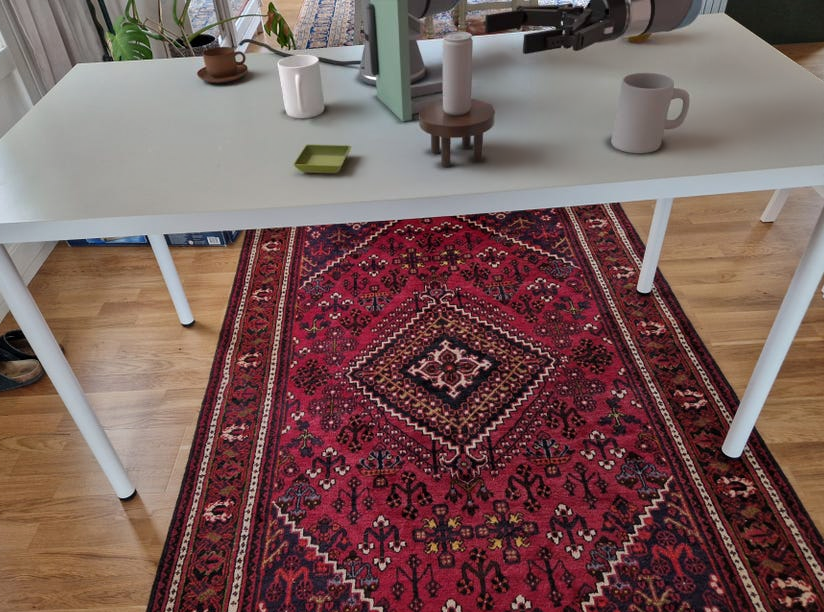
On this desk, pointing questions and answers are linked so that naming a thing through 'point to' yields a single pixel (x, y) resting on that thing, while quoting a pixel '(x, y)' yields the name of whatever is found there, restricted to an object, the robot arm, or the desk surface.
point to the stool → (456, 127)
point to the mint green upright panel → (395, 56)
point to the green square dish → (322, 158)
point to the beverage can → (457, 73)
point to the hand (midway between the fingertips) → (504, 33)
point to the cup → (301, 86)
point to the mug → (645, 112)
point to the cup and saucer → (222, 65)
